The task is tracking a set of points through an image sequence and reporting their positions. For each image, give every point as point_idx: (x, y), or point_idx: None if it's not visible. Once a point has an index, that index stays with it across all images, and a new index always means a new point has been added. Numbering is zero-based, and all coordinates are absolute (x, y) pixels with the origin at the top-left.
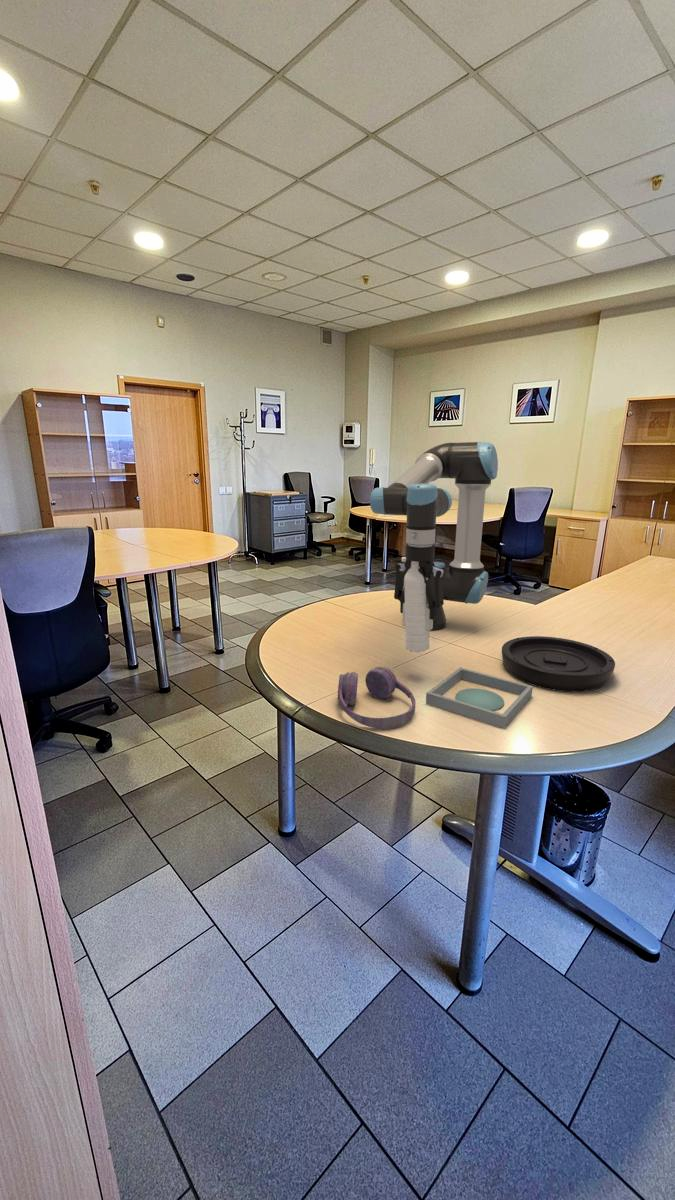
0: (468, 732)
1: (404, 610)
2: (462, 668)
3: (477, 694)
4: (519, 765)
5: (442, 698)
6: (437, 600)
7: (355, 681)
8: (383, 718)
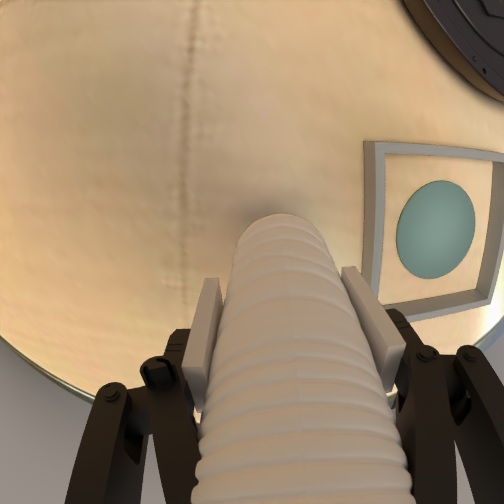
0: (439, 337)
1: None
2: (382, 145)
3: (432, 215)
4: (487, 347)
5: None
6: (461, 419)
7: None
8: None
